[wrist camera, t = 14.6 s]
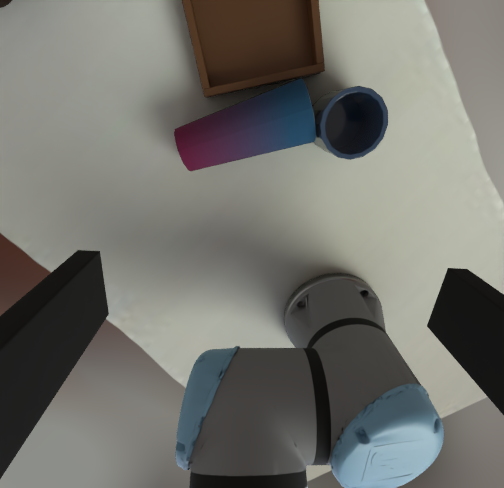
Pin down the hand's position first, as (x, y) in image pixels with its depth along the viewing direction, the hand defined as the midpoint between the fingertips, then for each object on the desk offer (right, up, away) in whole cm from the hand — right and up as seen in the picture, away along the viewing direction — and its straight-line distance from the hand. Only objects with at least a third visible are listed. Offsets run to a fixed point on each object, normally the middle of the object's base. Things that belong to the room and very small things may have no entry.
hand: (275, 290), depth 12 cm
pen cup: (+9, +17, +26) cm, 33 cm away
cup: (-9, +13, +24) cm, 29 cm away
